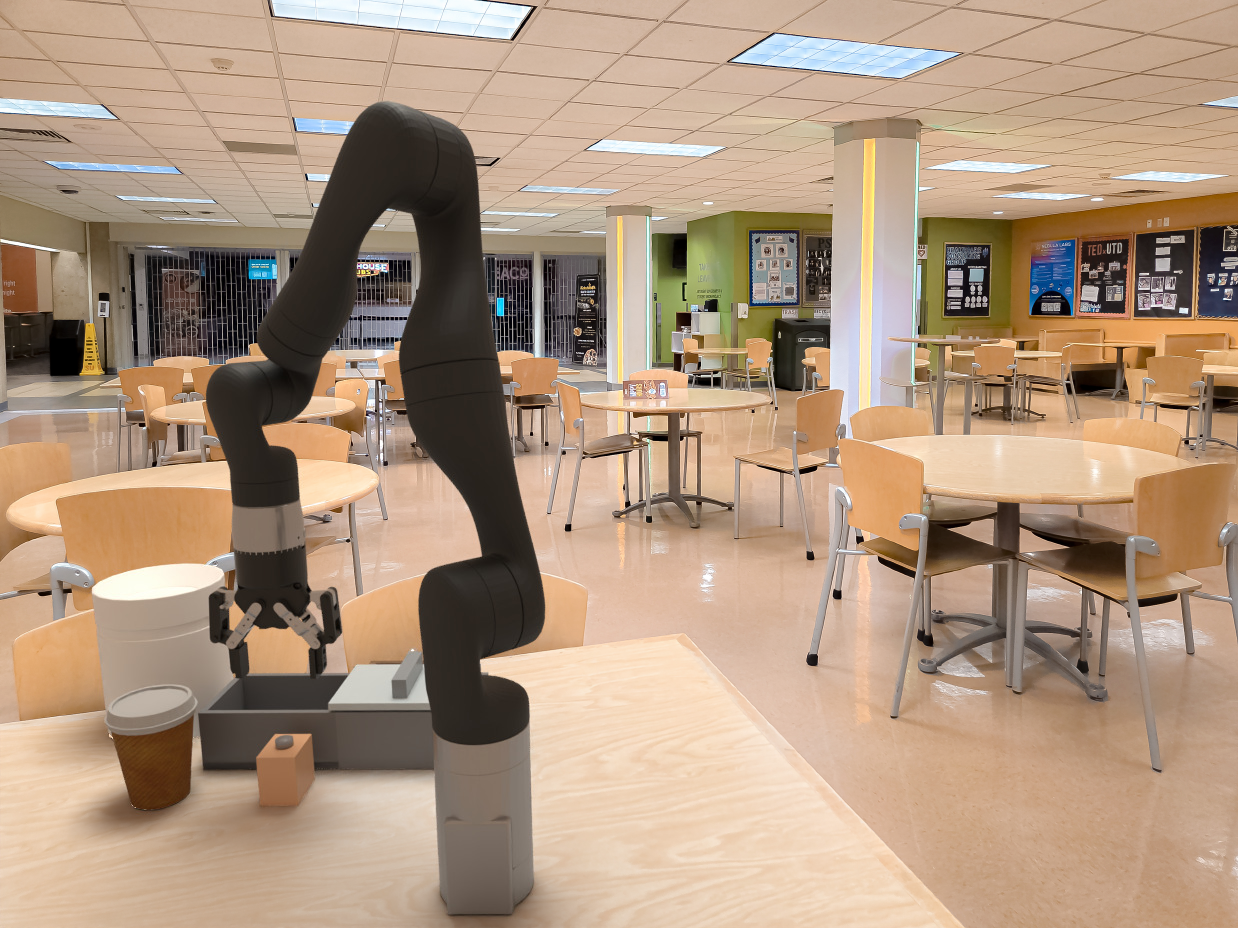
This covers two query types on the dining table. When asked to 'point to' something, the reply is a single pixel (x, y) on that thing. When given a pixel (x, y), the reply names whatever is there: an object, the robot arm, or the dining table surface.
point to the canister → (160, 632)
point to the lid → (384, 687)
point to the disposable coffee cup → (154, 743)
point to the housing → (309, 725)
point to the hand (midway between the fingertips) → (279, 676)
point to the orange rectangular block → (285, 769)
